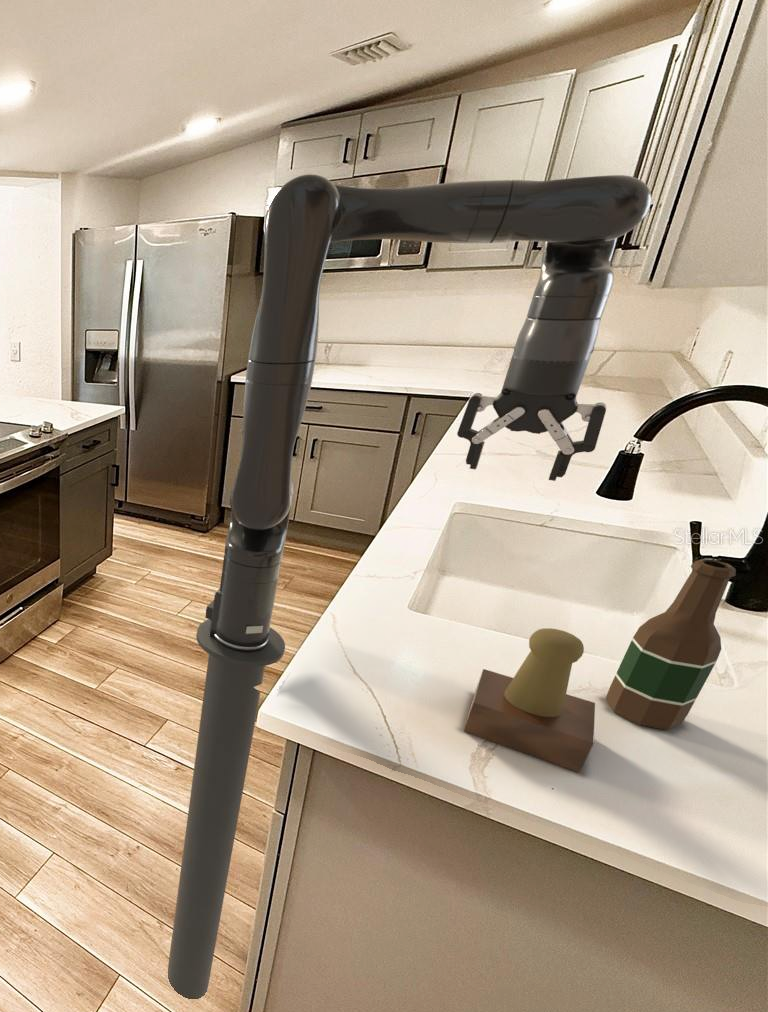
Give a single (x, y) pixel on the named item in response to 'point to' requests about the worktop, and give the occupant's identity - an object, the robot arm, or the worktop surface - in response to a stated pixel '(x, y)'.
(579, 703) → the walnut block
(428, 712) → the worktop surface
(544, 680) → the cork
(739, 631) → the worktop surface
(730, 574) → the beer bottle
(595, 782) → the worktop surface
